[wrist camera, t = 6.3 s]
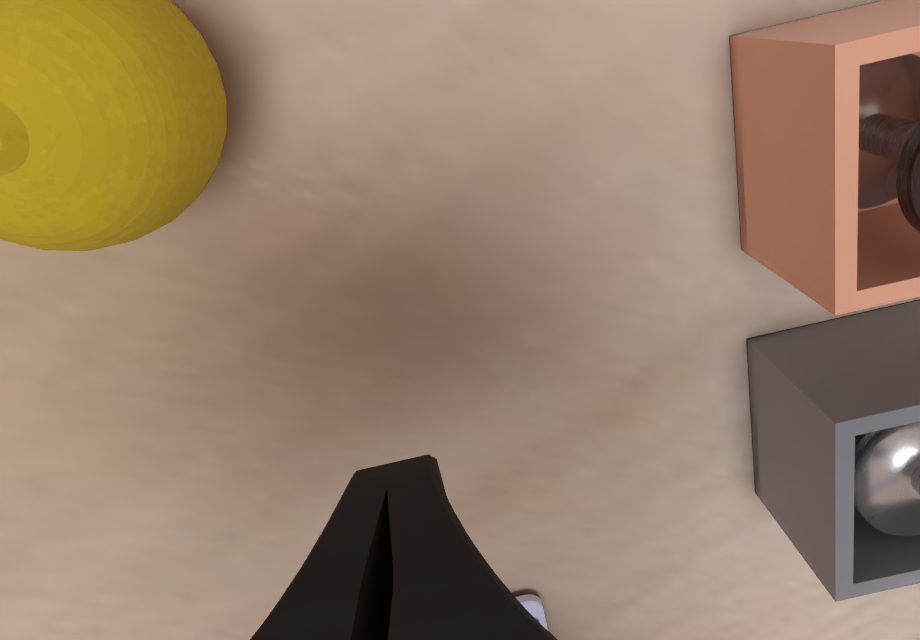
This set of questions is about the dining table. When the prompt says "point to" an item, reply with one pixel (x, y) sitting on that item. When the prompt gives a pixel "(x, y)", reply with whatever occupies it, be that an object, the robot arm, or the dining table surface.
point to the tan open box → (820, 156)
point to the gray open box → (834, 438)
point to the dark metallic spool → (890, 135)
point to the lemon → (103, 120)
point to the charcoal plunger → (889, 479)
